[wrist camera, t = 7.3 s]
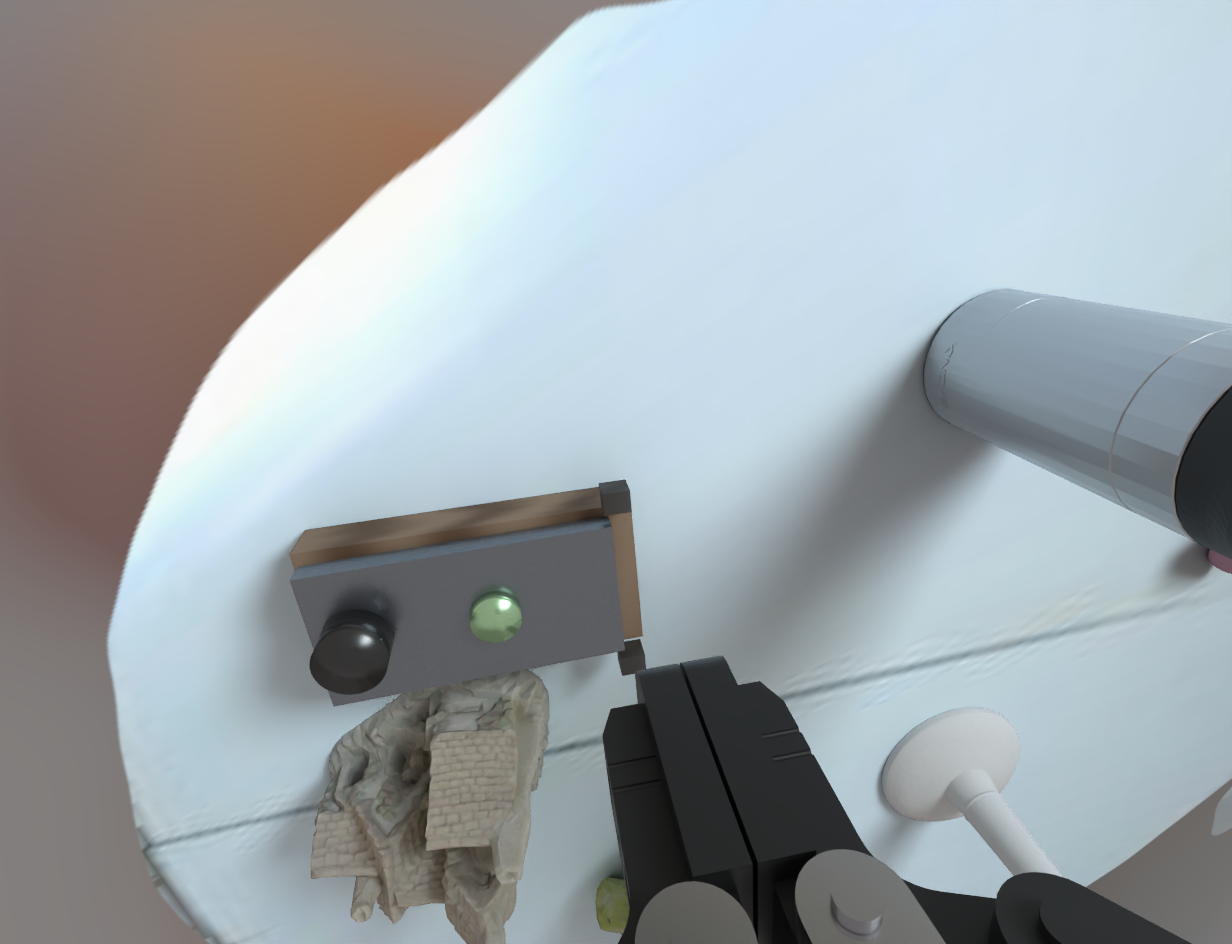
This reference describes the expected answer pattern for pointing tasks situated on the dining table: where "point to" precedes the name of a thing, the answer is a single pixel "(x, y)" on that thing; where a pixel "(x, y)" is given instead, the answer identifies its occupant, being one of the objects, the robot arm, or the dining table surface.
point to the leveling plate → (461, 609)
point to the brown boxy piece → (495, 520)
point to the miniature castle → (437, 802)
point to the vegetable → (612, 905)
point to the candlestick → (964, 781)
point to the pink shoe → (1220, 561)
